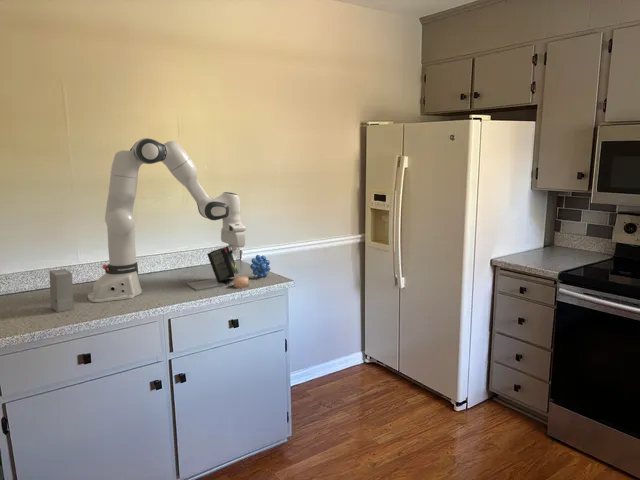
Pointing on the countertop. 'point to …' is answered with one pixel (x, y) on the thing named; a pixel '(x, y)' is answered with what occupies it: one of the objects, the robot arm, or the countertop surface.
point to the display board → (205, 284)
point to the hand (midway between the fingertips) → (232, 253)
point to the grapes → (260, 266)
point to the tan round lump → (241, 282)
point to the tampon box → (223, 264)
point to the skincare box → (61, 290)
